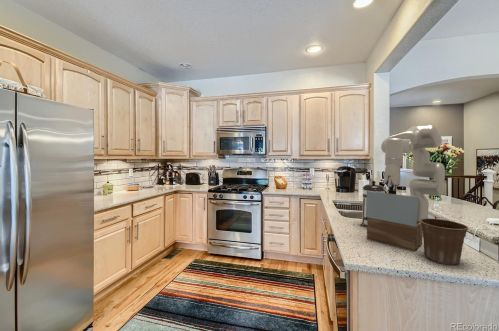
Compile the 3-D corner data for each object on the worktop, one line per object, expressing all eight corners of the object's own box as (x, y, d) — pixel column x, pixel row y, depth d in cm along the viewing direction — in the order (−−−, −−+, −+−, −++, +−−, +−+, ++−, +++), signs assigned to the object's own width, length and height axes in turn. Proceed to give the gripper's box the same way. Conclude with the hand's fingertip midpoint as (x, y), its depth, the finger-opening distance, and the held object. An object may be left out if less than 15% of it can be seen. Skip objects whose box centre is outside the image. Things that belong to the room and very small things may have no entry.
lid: (367, 191, 126) (366, 191, 125) (418, 196, 109) (417, 197, 108) (366, 216, 126) (365, 216, 125) (416, 226, 109) (416, 226, 108)
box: (376, 233, 135) (377, 213, 135) (422, 244, 119) (423, 221, 119) (366, 239, 126) (367, 217, 126) (414, 251, 110) (415, 226, 109)
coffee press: (354, 222, 158) (355, 179, 157) (378, 223, 158) (379, 179, 157) (366, 230, 141) (367, 182, 140) (392, 231, 140) (394, 182, 139)
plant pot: (472, 271, 91) (474, 231, 90) (422, 262, 98) (423, 224, 98) (459, 256, 105) (461, 221, 104) (416, 249, 113) (417, 216, 112)
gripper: (390, 162, 126) (388, 196, 126) (380, 162, 116) (378, 198, 116) (406, 162, 120) (404, 197, 121) (397, 162, 110) (395, 200, 111)
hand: (392, 198), depth 119 cm, fingers closed
